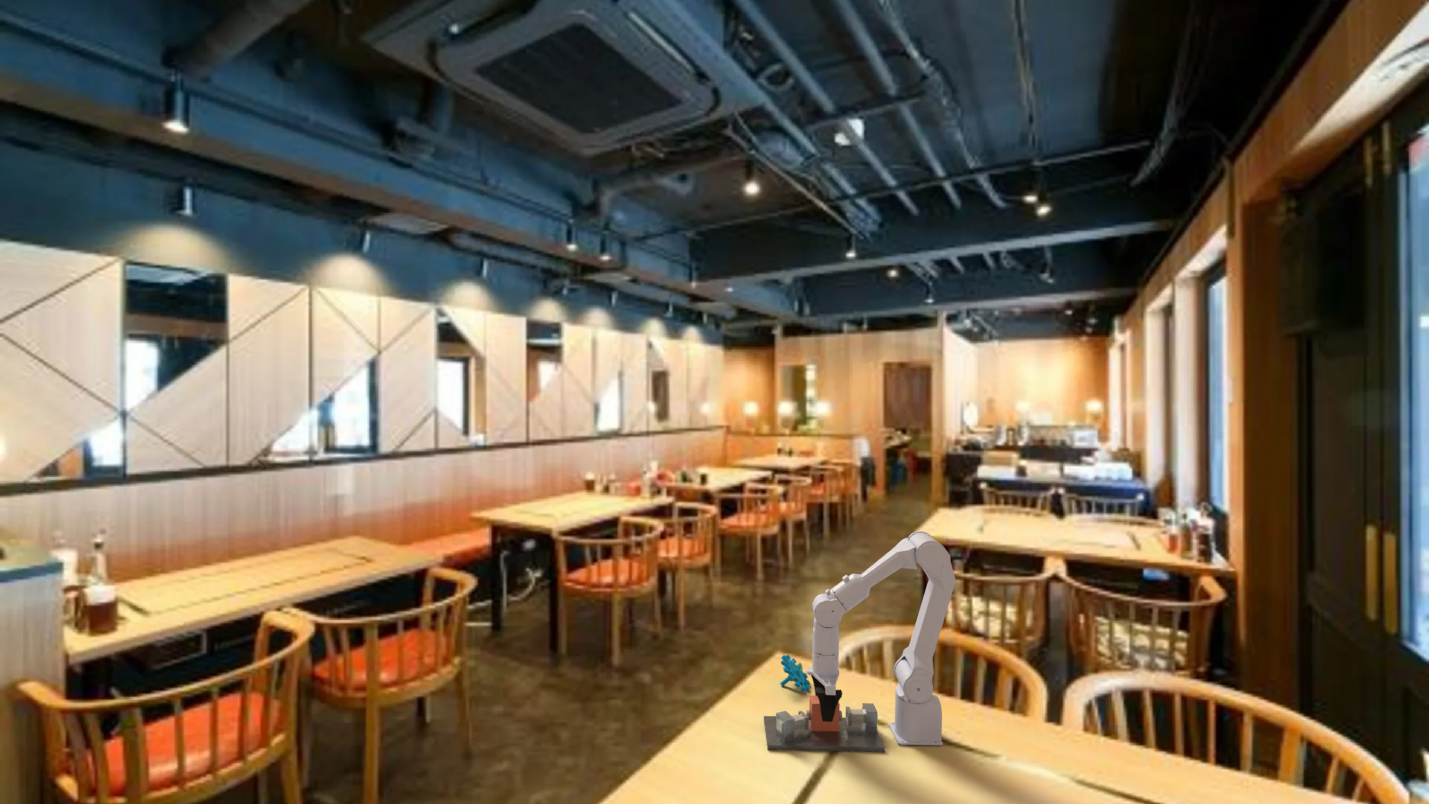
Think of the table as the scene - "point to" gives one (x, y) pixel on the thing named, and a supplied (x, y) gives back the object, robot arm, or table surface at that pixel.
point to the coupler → (816, 718)
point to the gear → (794, 673)
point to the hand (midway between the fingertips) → (824, 711)
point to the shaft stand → (825, 732)
